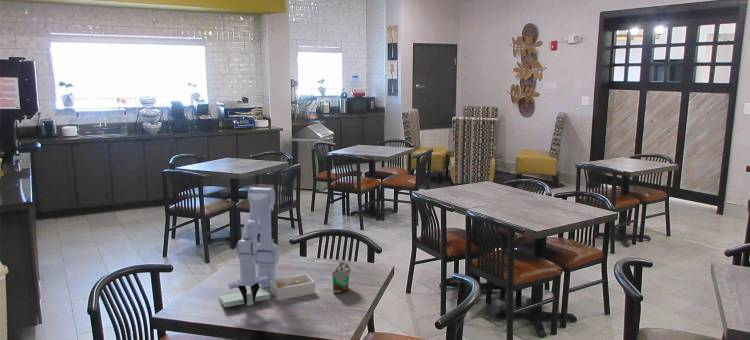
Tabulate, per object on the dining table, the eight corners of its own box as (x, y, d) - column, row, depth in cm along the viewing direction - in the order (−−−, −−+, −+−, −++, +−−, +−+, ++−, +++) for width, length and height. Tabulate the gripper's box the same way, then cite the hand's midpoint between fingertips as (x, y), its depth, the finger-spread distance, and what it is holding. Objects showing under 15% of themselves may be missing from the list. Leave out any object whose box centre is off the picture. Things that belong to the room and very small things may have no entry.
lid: (219, 300, 214) (218, 290, 214) (262, 292, 222) (261, 282, 222) (227, 309, 200) (226, 298, 200) (272, 300, 208) (272, 289, 208)
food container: (346, 296, 218) (346, 273, 216) (332, 295, 220) (332, 272, 218) (354, 284, 230) (354, 262, 228) (340, 283, 231) (340, 261, 229)
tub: (270, 291, 223) (270, 280, 222) (306, 284, 230) (306, 273, 229) (277, 300, 214) (277, 289, 213) (314, 293, 221) (314, 282, 220)
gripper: (230, 276, 196) (232, 310, 199) (269, 270, 203) (270, 303, 205) (226, 269, 202) (228, 303, 205) (264, 263, 209) (265, 296, 211)
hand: (249, 302), depth 206 cm, fingers closed on lid, 2 cm apart
